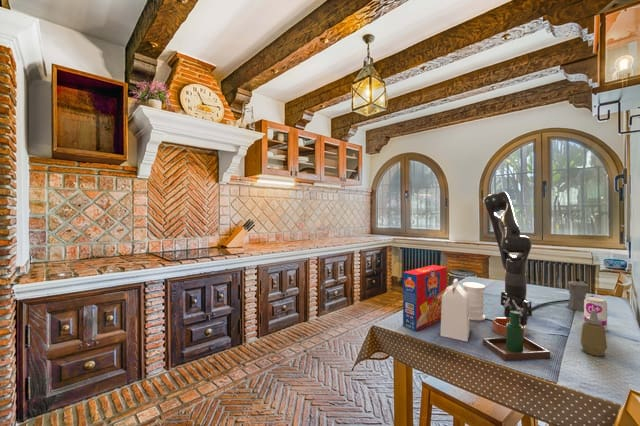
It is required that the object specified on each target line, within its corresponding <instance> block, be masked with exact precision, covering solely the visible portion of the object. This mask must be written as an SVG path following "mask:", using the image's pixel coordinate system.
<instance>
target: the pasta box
mask: <svg viewBox="0 0 640 426" xmlns="http://www.w3.org/2000/svg"><path fill="white" fill-rule="evenodd" d="M447 277H448V275H447V266H442V265H438V264H437V265H436V264H431V265H426V266H423V267H419V268H414V269H411V270H410V269H409V270H405V271H403V272H402V326H403V327H405V328H408V329H411V330H413V331H415V332H418V331H420V330H422V329H424V328H427V327H429V326H431V325H433V324H435V323H438V322H439V321H441V309H442V296H443V294H444V292H445V291H446V290H445V289H446V288H447V284H448V283H447Z"/></svg>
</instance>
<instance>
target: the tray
mask: <svg viewBox="0 0 640 426" xmlns="http://www.w3.org/2000/svg"><path fill="white" fill-rule="evenodd" d="M482 346H484V347H486V348H487V349H488V350H490V351H491V352H493V353H494V354H495V355H496V356H498V357H499V358H500V359H502V360H503V361H522V360H538V359H540V360H541V359H551V351H550V350H548V349H547V348H545V347H543V346H541V345H539V344H538V343H536V342H534V341H533V340H531V339H529V338H527V337H526V336H525V337H524V336H523V352H518V353H516V352H512V351H510V350H508V349H507V348H506V336H503V337H487V338H482Z"/></svg>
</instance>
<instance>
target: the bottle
mask: <svg viewBox="0 0 640 426" xmlns="http://www.w3.org/2000/svg"><path fill="white" fill-rule="evenodd" d="M509 318H510V322H508V324H506V336H505V337H506V348H507V349H508V350H510V351H512V352H516V353H518V352H523V327H522V326H521V325H520V313H519V312H517V311H510V317H509Z"/></svg>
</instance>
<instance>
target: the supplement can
mask: <svg viewBox="0 0 640 426" xmlns="http://www.w3.org/2000/svg"><path fill="white" fill-rule="evenodd" d="M585 297H586V298H585V300H584V311H583V323H584V322H587V321H586V318H587V317H590V315H591V312H592V310H596V312H597V316H598V319H600V320H602V324H601V325H603V326H604V327H605V331H607V330H608V302H607V301H606V299H604V298H601V297H597V296H596V297H595V296H594V297H589V296H585Z"/></svg>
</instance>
